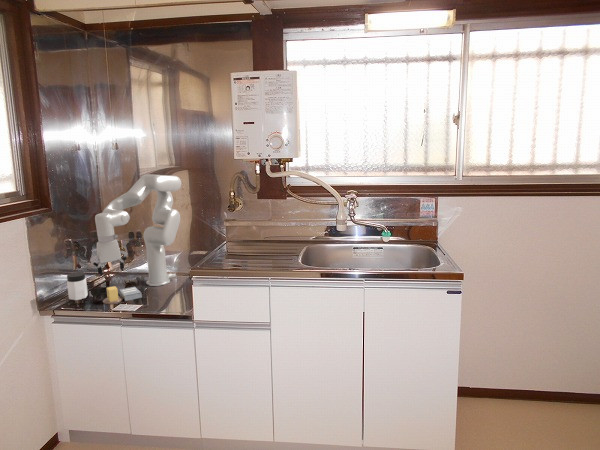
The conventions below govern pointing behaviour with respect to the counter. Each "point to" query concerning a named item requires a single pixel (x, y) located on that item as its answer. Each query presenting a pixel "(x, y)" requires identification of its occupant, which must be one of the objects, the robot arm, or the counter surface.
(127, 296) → the gray flat block
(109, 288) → the stub
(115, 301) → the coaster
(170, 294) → the counter surface
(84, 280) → the jar
